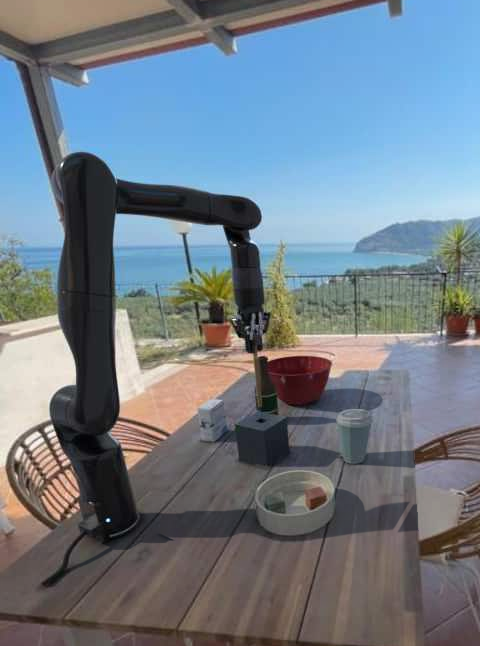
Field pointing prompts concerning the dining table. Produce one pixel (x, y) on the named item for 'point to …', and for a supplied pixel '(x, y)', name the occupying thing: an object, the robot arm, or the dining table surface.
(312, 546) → the dining table surface
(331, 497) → the bowl
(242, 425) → the stick stand
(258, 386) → the stirring stick
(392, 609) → the dining table surface
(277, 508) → the sage block
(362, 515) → the dining table surface
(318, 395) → the mixing bowl
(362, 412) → the disposable coffee cup
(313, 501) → the terracotta block
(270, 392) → the beer bottle
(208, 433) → the ink box
